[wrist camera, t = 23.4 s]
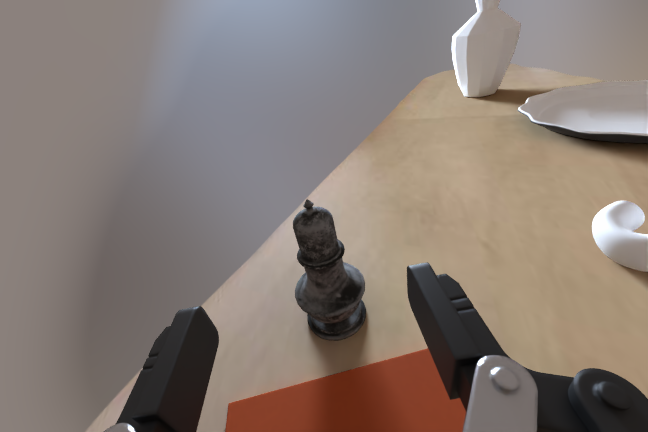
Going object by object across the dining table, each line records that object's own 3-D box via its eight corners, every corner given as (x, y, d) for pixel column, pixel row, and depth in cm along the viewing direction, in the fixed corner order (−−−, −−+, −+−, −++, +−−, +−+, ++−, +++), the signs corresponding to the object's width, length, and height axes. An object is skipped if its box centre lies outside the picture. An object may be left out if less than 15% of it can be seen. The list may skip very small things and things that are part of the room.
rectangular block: (466, 340, 21) (466, 337, 21) (543, 456, 15) (544, 454, 15) (230, 405, 20) (228, 403, 20) (214, 554, 14) (211, 552, 14)
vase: (512, 97, 66) (536, -43, 52) (446, 102, 72) (453, -21, 58) (508, 83, 76) (527, -37, 62) (451, 89, 82) (457, -19, 69)
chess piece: (307, 291, 28) (272, 185, 21) (365, 284, 27) (348, 173, 21) (301, 346, 23) (254, 232, 16) (373, 340, 22) (353, 218, 16)
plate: (812, 166, 29) (831, 144, 28) (496, 141, 48) (498, 127, 46) (759, 90, 45) (769, 74, 44) (538, 94, 64) (540, 83, 62)
